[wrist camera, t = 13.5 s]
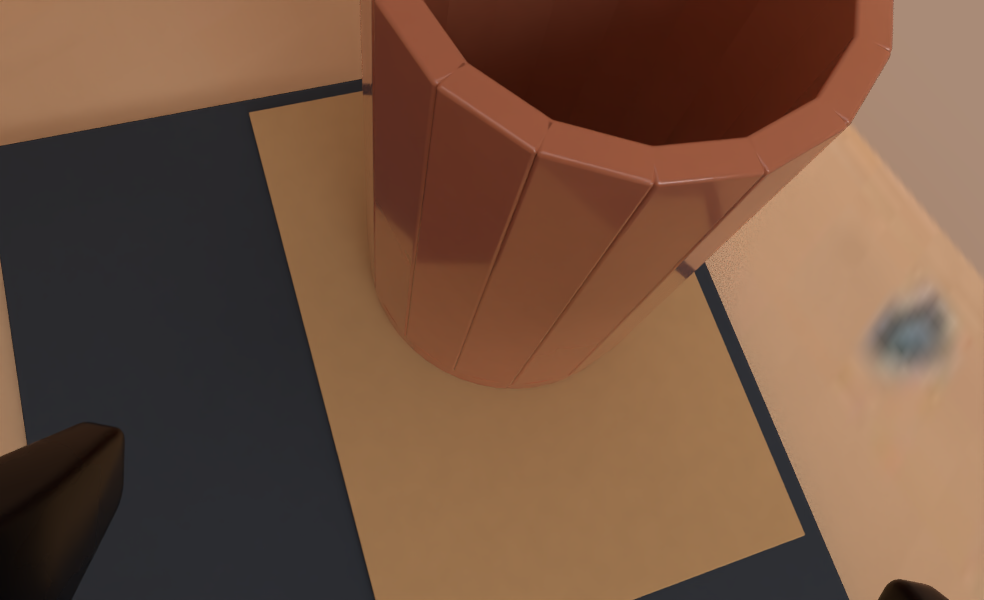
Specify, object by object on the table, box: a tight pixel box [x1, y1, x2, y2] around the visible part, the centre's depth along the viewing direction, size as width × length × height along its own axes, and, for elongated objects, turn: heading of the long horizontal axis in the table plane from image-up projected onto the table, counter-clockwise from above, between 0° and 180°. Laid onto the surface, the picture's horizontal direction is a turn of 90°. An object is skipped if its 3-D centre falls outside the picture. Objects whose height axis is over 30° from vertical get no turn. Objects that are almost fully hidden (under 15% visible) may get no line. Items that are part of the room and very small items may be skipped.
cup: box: [360, 0, 893, 389], centre depth 14 cm, size 7×7×10 cm
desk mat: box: [0, 79, 849, 600], centre depth 16 cm, size 24×16×1 cm, turn 18°
